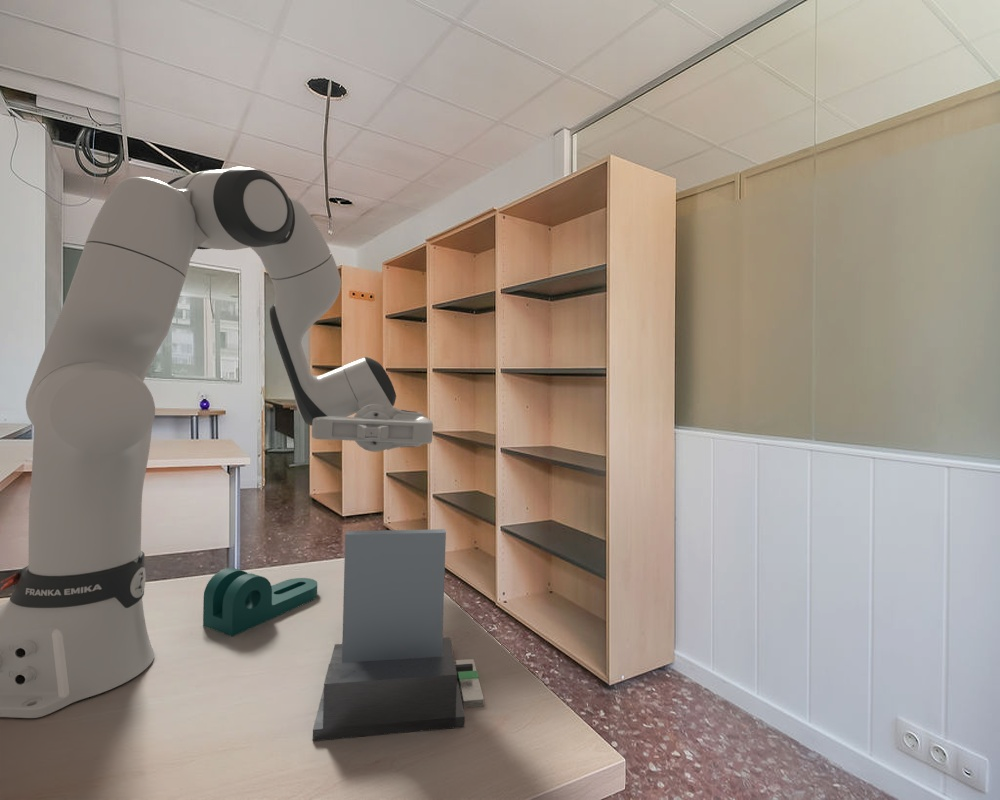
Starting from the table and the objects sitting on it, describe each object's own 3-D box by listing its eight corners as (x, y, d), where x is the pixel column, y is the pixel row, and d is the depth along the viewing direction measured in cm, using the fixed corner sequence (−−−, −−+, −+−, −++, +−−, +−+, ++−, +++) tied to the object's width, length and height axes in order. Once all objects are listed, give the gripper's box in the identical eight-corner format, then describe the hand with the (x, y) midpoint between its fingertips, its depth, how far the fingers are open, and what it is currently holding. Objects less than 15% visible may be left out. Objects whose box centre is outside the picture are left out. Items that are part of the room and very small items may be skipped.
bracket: (231, 638, 76) (233, 584, 75) (203, 626, 79) (203, 575, 78) (325, 595, 92) (326, 551, 91) (298, 587, 95) (299, 544, 94)
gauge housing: (312, 741, 54) (313, 684, 54) (334, 652, 72) (335, 610, 72) (488, 725, 58) (490, 672, 58) (468, 644, 75) (469, 604, 75)
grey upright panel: (341, 682, 62) (345, 534, 62) (342, 675, 64) (346, 531, 63) (473, 673, 65) (477, 532, 65) (471, 667, 67) (476, 528, 66)
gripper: (319, 407, 95) (304, 410, 81) (431, 412, 98) (435, 416, 85) (317, 442, 95) (302, 450, 81) (429, 446, 99) (433, 454, 85)
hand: (371, 433), depth 83 cm, fingers closed
